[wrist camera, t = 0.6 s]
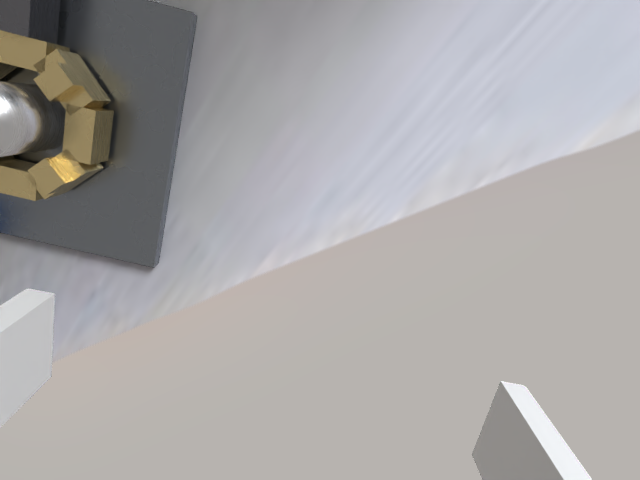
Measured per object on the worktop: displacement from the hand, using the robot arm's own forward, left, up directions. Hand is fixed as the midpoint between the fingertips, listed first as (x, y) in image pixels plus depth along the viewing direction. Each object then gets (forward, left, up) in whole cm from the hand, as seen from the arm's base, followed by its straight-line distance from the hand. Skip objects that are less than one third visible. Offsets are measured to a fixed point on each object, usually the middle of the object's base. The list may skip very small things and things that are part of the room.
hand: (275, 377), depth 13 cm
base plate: (-2, -21, -25) cm, 33 cm away
